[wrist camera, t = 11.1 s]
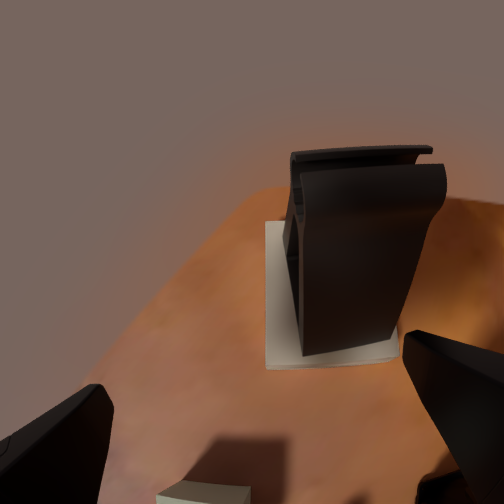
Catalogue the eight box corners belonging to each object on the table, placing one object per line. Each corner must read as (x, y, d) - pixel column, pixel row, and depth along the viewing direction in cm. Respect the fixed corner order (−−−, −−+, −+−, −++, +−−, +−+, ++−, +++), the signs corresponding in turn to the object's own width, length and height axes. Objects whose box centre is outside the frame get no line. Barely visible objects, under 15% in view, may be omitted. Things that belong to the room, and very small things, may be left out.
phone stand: (388, 341, 18) (490, 252, 8) (301, 357, 18) (327, 281, 8) (357, 229, 23) (395, 96, 12) (282, 238, 23) (276, 98, 12)
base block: (369, 235, 25) (376, 218, 23) (388, 361, 20) (399, 355, 17) (267, 238, 26) (265, 221, 24) (267, 369, 20) (265, 365, 18)
